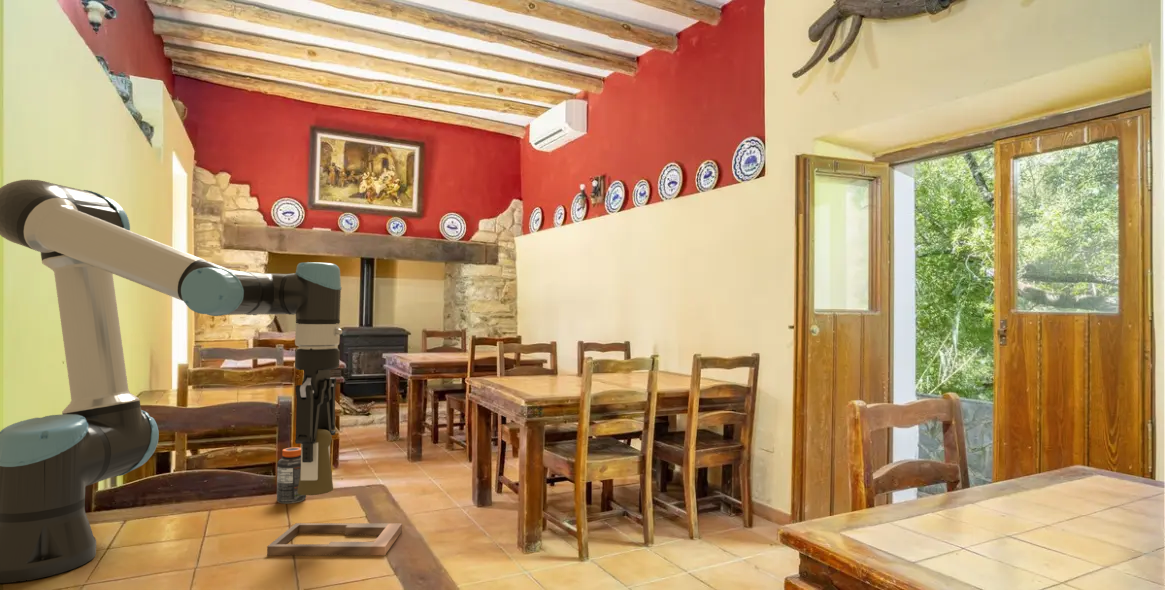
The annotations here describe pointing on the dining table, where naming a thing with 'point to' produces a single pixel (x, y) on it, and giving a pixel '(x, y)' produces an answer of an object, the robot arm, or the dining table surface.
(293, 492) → the pill bottle
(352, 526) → the keyhole board
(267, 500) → the dining table surface
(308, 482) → the olive rounded upright piece
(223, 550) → the dining table surface
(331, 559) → the dining table surface
